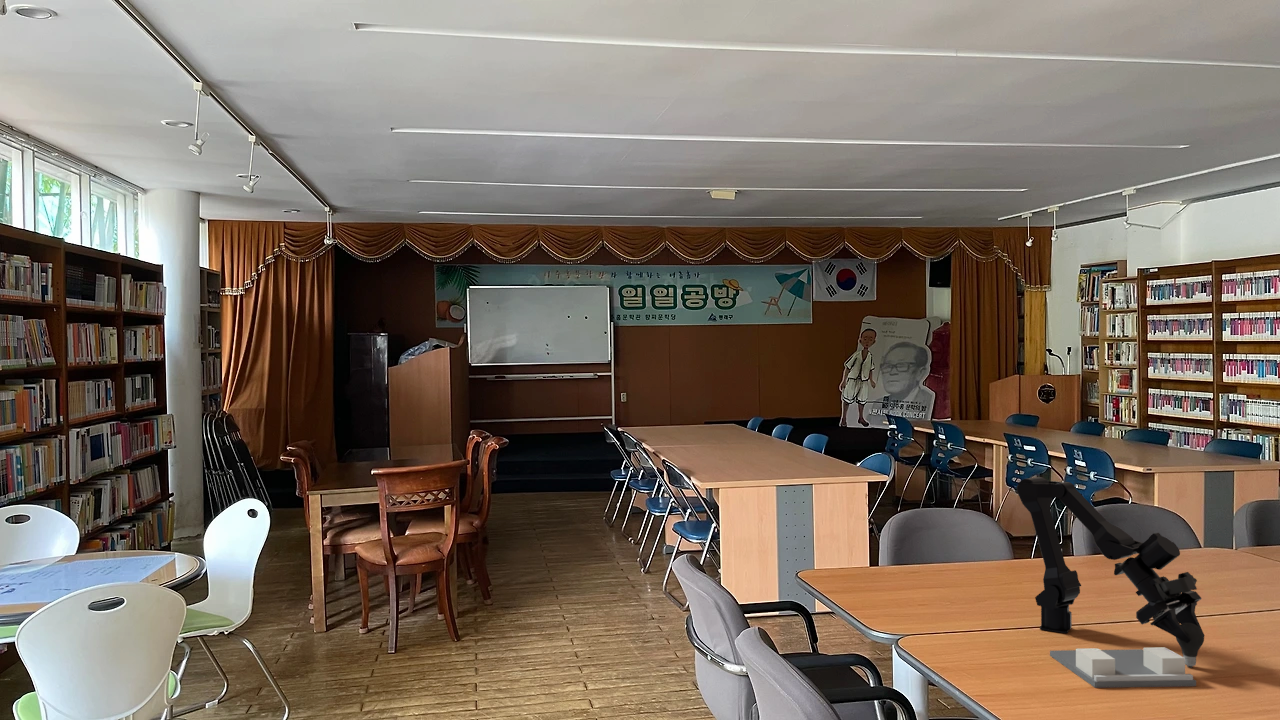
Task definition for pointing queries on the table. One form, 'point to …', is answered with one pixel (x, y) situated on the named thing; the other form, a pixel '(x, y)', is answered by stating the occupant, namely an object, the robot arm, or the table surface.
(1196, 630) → the black light bulb
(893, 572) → the table surface
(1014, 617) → the table surface
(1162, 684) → the board
